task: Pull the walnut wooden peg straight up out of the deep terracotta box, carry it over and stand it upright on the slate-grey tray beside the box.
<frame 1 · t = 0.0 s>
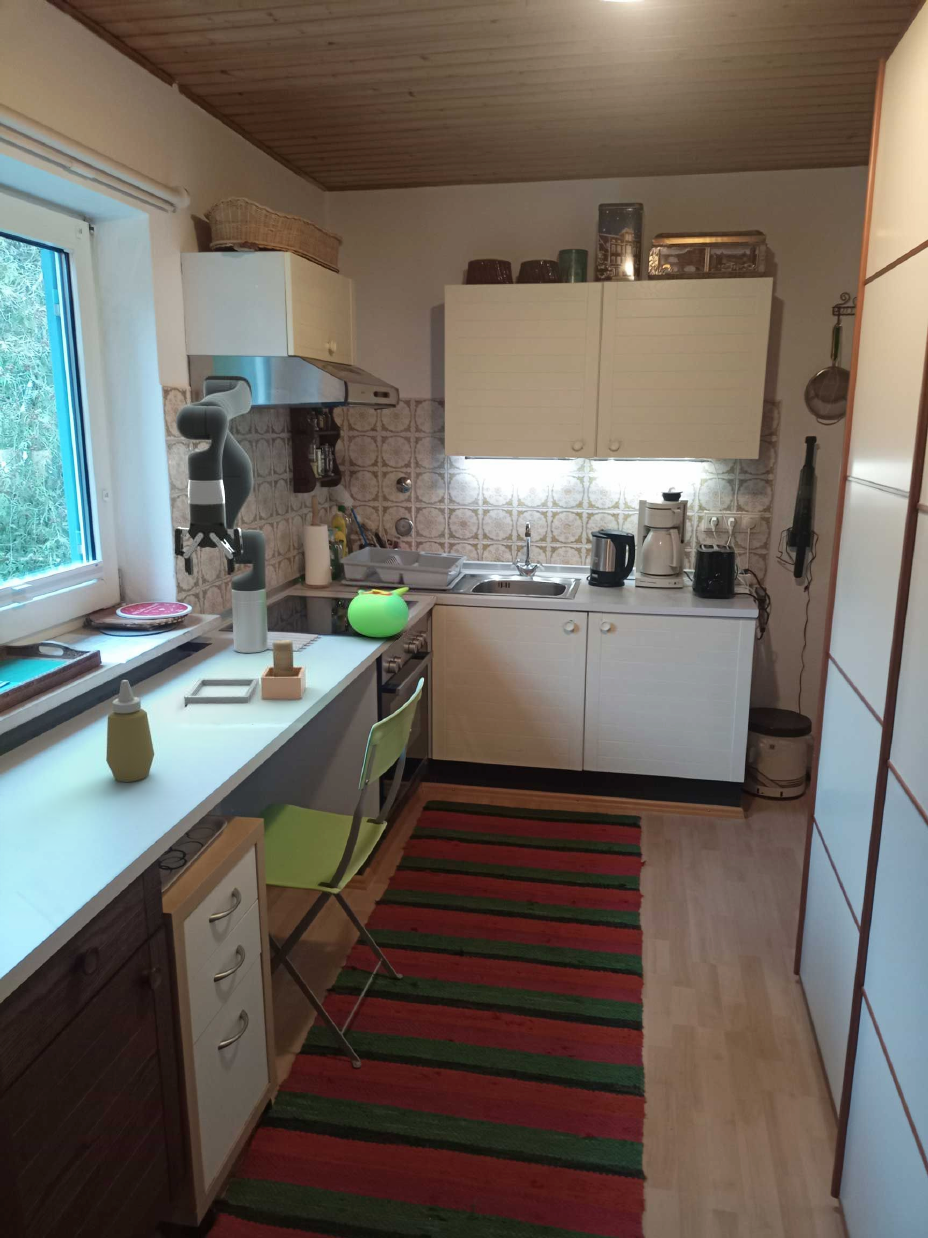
hand: (210, 574, 190), 29 cm above the worktop, tool pointing down, fingers open, 8 cm apart
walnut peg: (284, 692, 201), point 1 cm above the worktop, touching terracotta box
terracotta box: (284, 696, 201), on the worktop
squeeze bottle: (132, 777, 156), on the worktop
slate tray: (223, 696, 200), on the worktop
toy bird: (378, 636, 258), on the worktop
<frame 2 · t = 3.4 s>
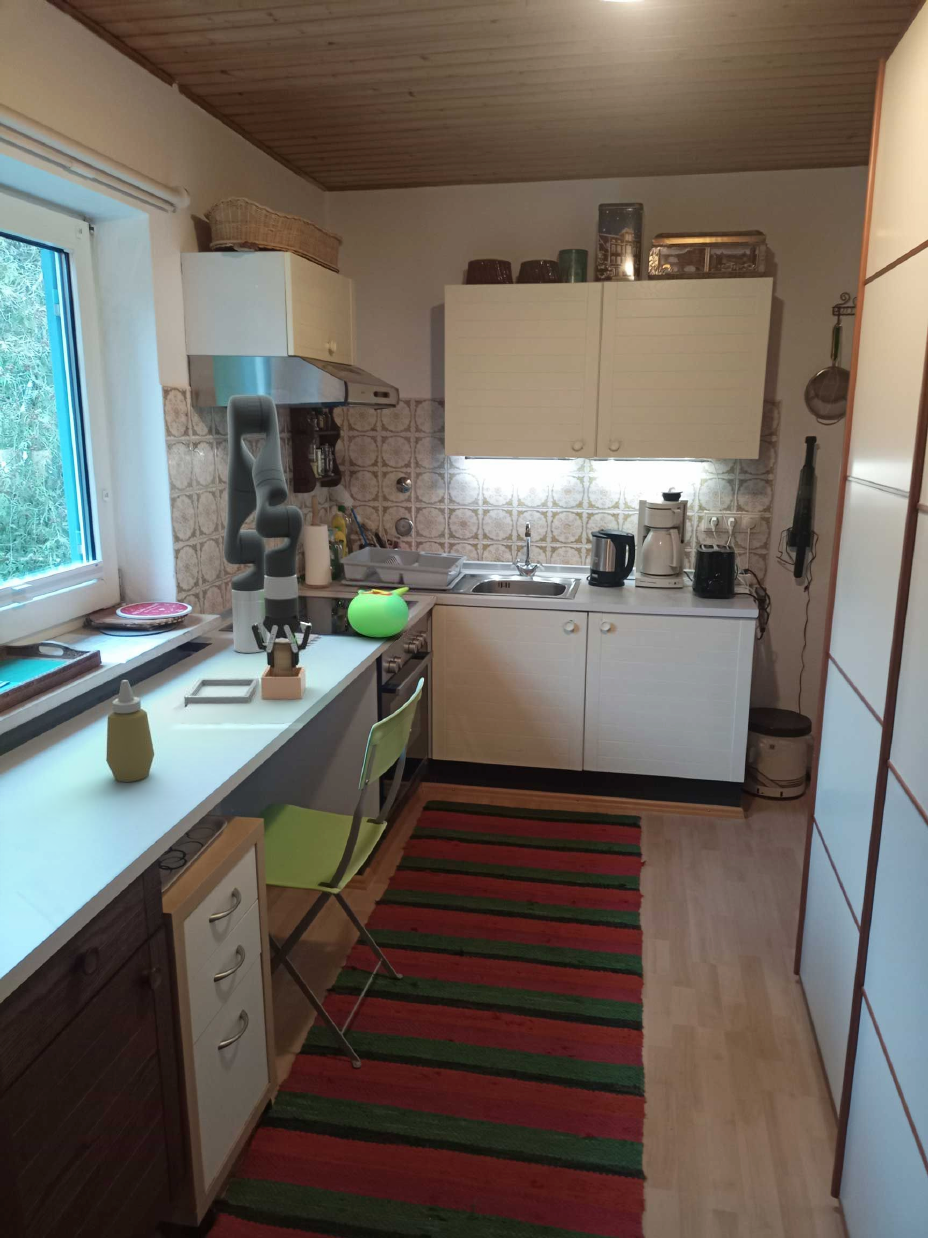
hand: (283, 666, 199), 7 cm above the worktop, tool pointing down, fingers closed on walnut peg, 4 cm apart
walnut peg: (284, 692, 201), point 1 cm above the worktop, touching gripper, terracotta box
everything else where it was.
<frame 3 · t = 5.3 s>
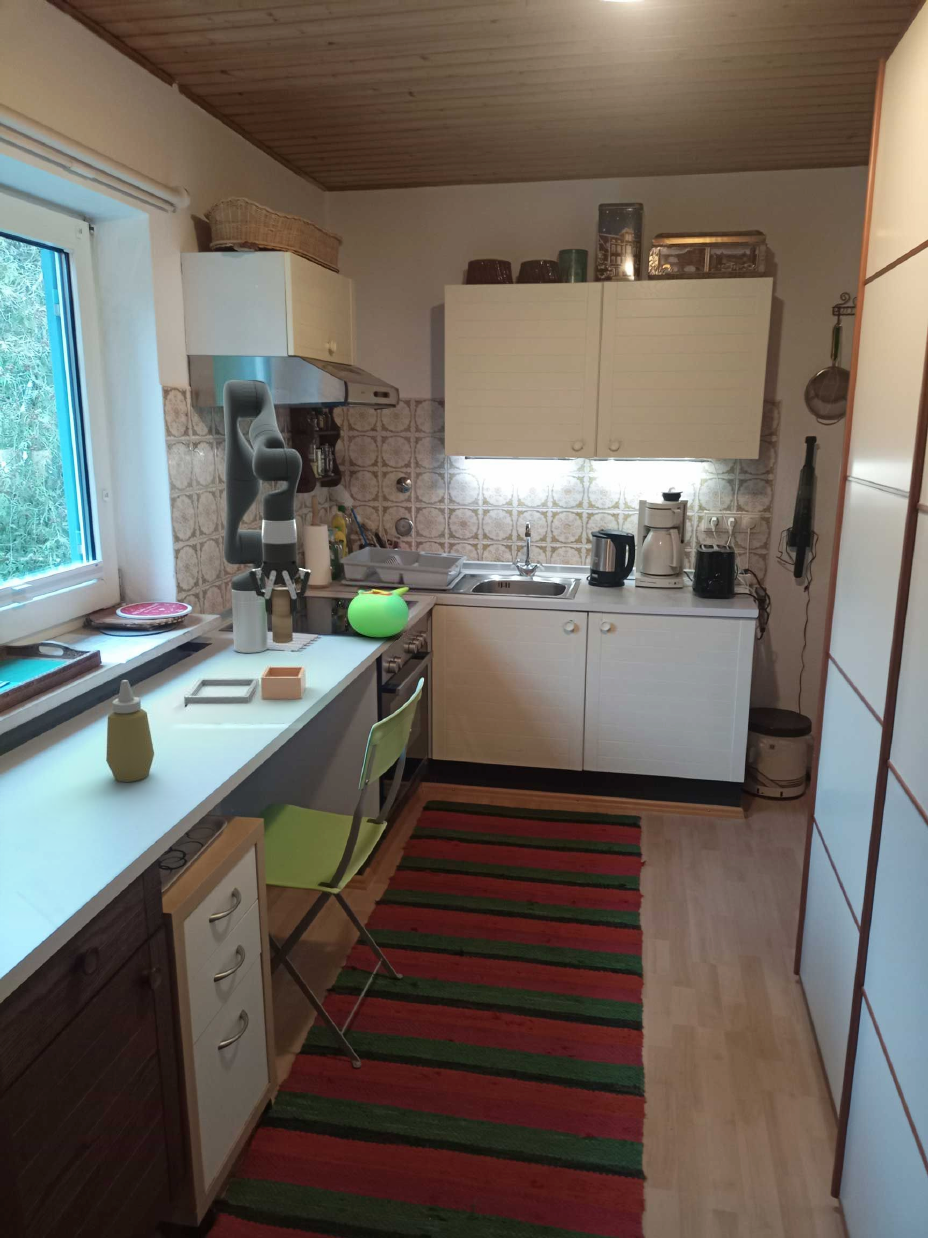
hand: (281, 613, 196), 20 cm above the worktop, tool pointing down, fingers closed on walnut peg, 4 cm apart
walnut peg: (282, 640, 198), point 13 cm above the worktop, touching gripper
everything else where it was.
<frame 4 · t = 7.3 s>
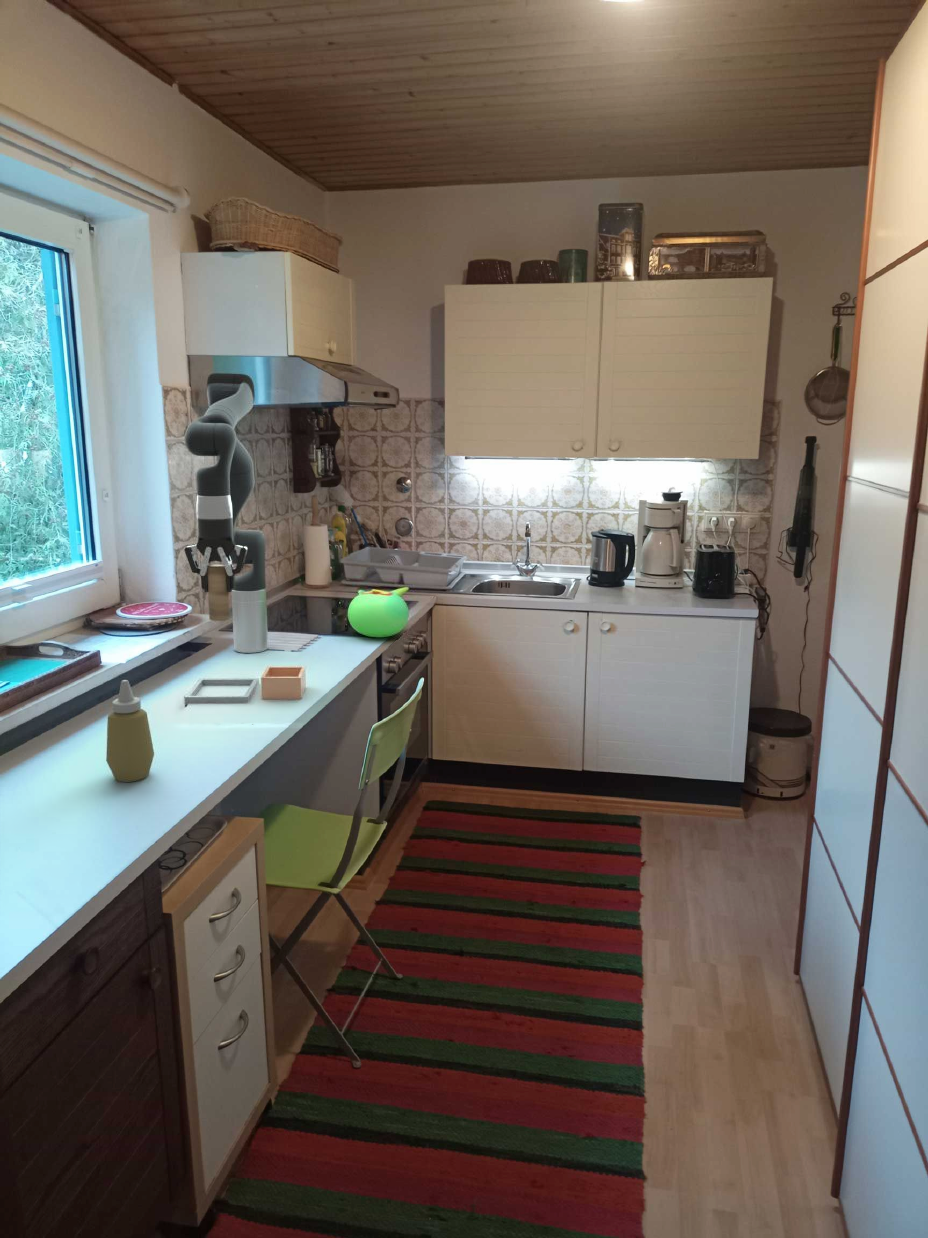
hand: (218, 591, 194), 25 cm above the worktop, tool pointing down, fingers closed on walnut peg, 4 cm apart
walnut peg: (219, 618, 196), point 19 cm above the worktop, touching gripper
everything else where it was.
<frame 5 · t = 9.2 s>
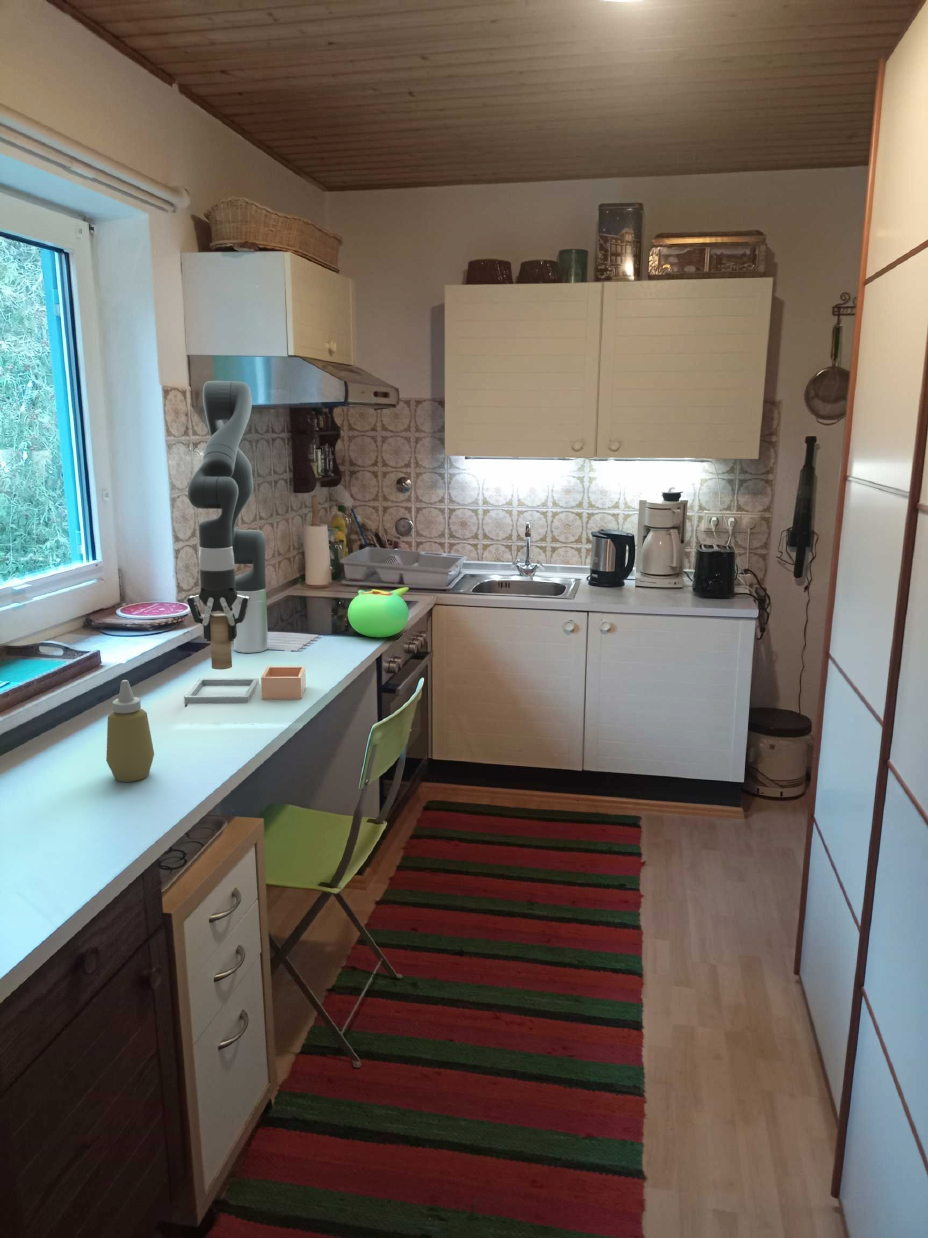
hand: (220, 640, 197), 14 cm above the worktop, tool pointing down, fingers closed on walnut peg, 4 cm apart
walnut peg: (221, 666, 198), point 7 cm above the worktop, touching gripper
everything else where it was.
when the fingers open (8 cm above the worktop, at t = 11.1 s): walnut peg drops 1 cm, resting on slate tray.
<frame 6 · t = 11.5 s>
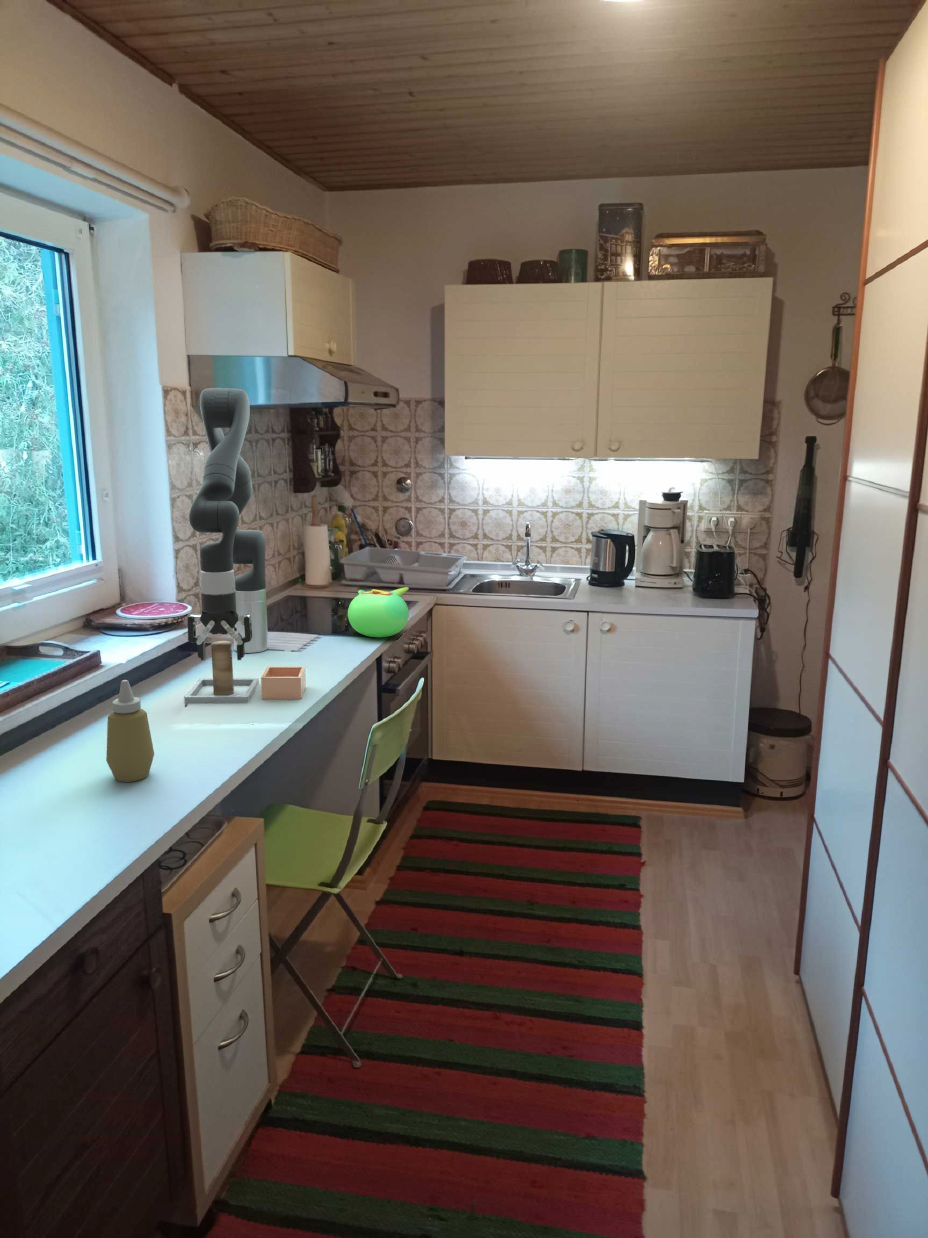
hand: (221, 659, 198), 9 cm above the worktop, tool pointing down, fingers open, 8 cm apart
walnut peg: (223, 693, 200), point 1 cm above the worktop, touching slate tray
everything else where it was.
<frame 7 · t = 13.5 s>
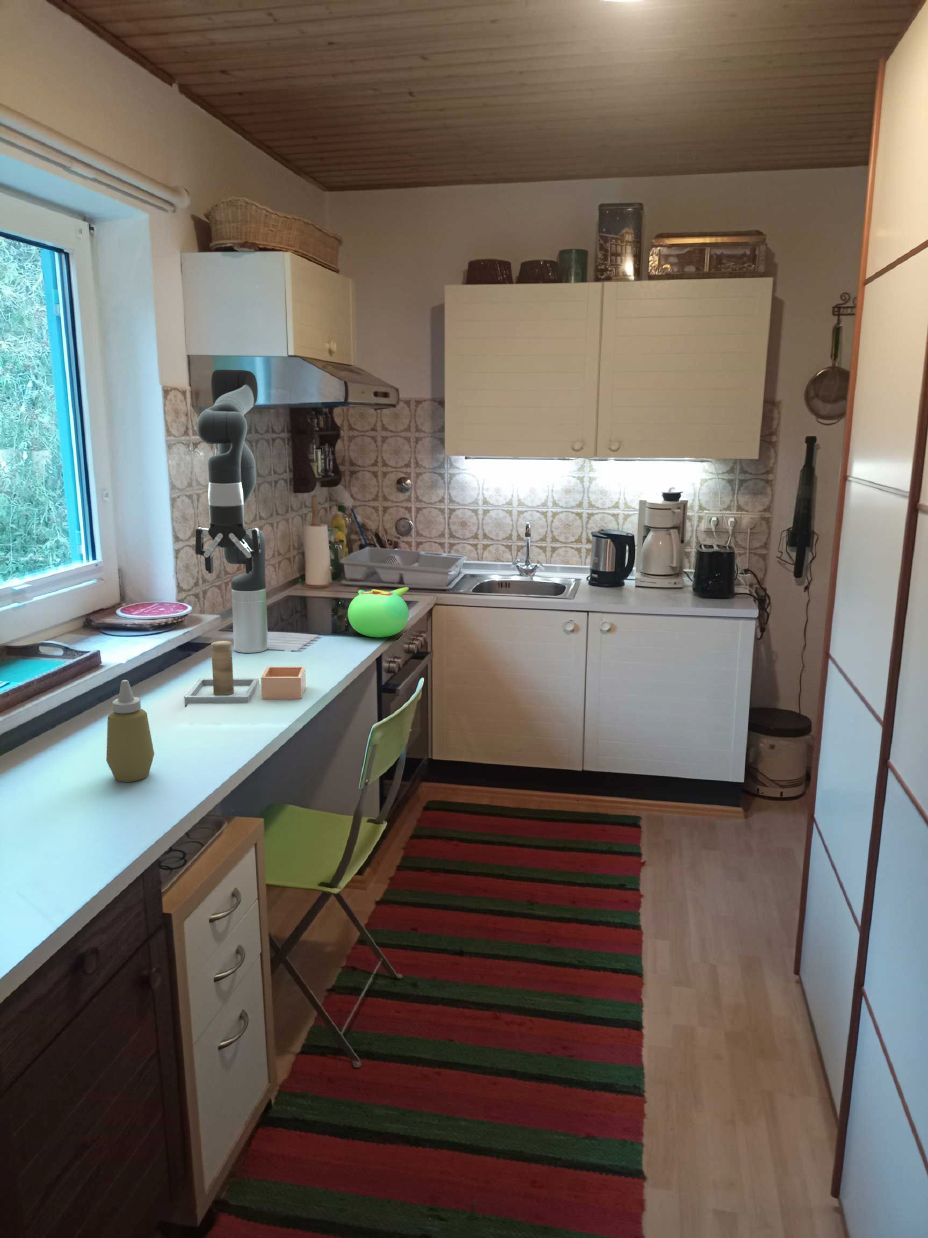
hand: (229, 573, 198), 28 cm above the worktop, tool pointing down, fingers open, 8 cm apart
nothing on the worktop moved.
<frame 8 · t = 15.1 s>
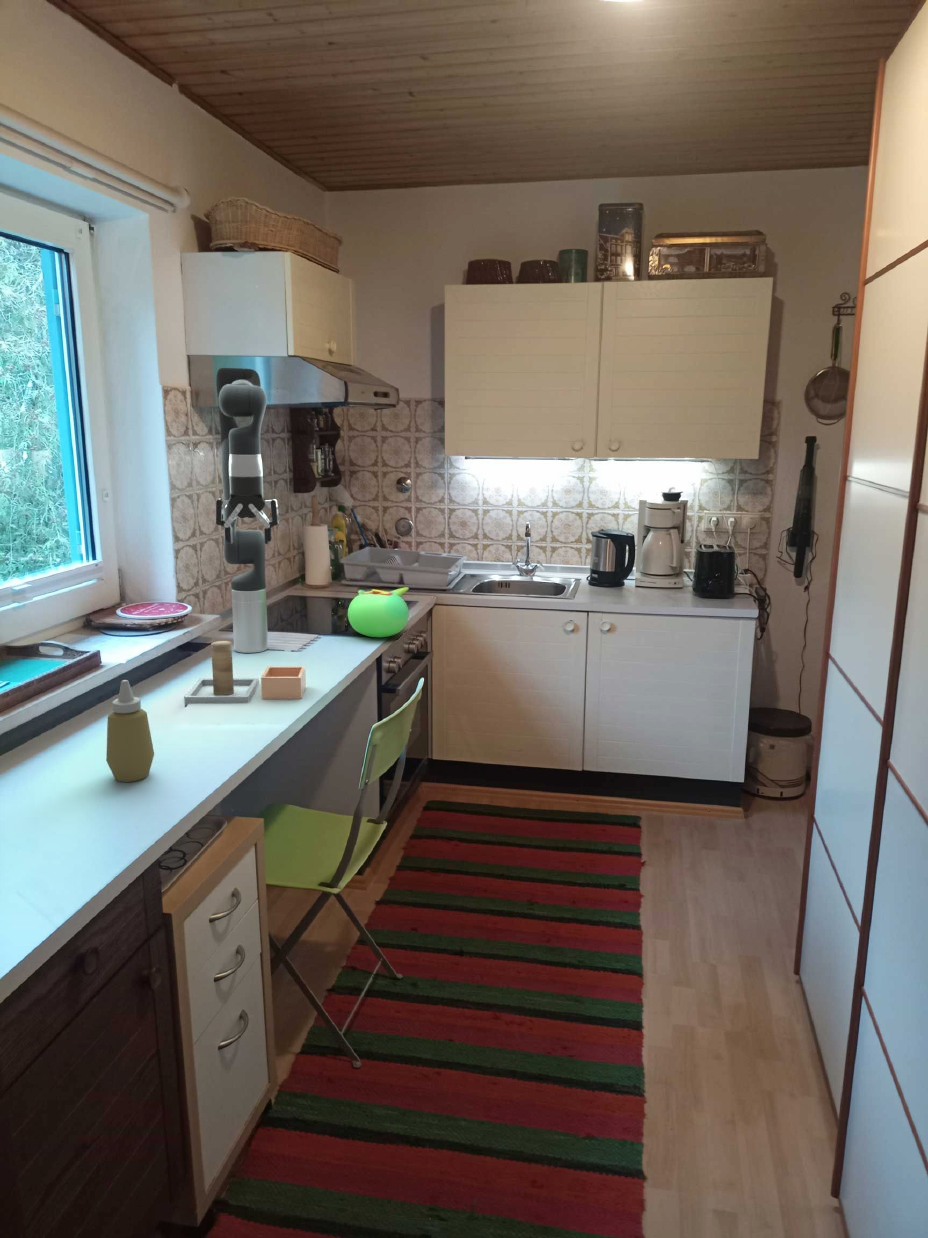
hand: (248, 543, 204), 34 cm above the worktop, tool pointing down, fingers open, 8 cm apart
nothing on the worktop moved.
at the end: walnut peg inside the target area on the slate tray (0.1 cm from its centre), point 0.8 cm above the slate tray's base; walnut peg tilted 0°; the gripper is holding nothing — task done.
